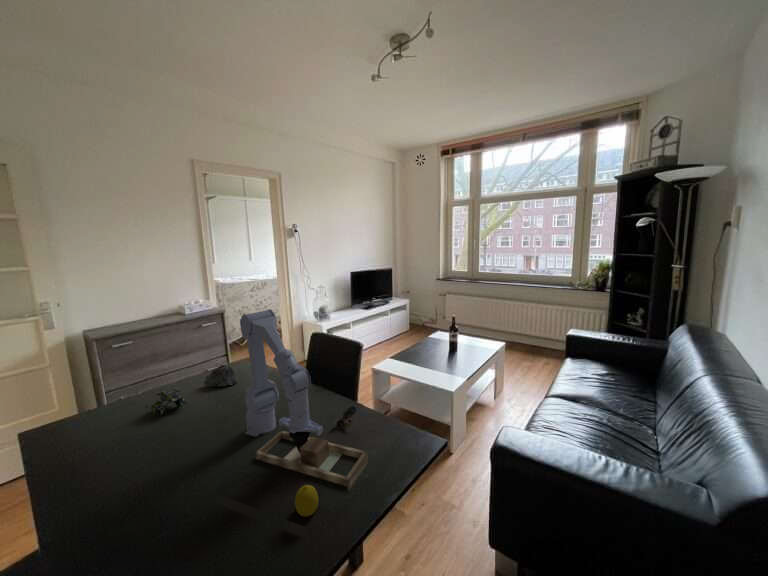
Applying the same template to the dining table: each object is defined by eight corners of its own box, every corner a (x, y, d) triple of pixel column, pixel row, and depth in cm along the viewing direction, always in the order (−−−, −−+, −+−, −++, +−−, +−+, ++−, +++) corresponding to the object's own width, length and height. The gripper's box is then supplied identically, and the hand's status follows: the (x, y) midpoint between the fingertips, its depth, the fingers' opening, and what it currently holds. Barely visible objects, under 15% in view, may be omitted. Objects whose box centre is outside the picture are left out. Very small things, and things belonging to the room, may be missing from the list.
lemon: (298, 506, 82) (296, 479, 81) (320, 504, 83) (318, 477, 81) (294, 526, 77) (291, 496, 75) (317, 523, 77) (315, 494, 76)
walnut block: (300, 463, 96) (299, 448, 95) (312, 450, 101) (311, 436, 100) (317, 468, 93) (316, 453, 92) (329, 455, 99) (328, 440, 98)
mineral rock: (202, 387, 150) (200, 367, 148) (221, 377, 160) (219, 358, 158) (223, 391, 145) (221, 370, 144) (242, 381, 155) (239, 361, 153)
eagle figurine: (357, 430, 111) (361, 412, 120) (345, 416, 110) (349, 399, 118) (340, 440, 113) (345, 421, 122) (328, 426, 111) (333, 408, 120)
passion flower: (180, 419, 134) (194, 396, 133) (156, 429, 123) (171, 405, 122) (162, 401, 136) (176, 379, 135) (137, 410, 126) (152, 386, 124)
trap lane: (256, 463, 99) (255, 452, 98) (282, 439, 109) (281, 430, 109) (348, 491, 86) (348, 480, 86) (367, 462, 97) (367, 451, 97)
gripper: (270, 412, 95) (274, 453, 98) (311, 421, 90) (314, 465, 92) (286, 400, 102) (289, 439, 104) (325, 408, 96) (328, 449, 99)
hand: (302, 450), depth 99 cm, fingers closed
